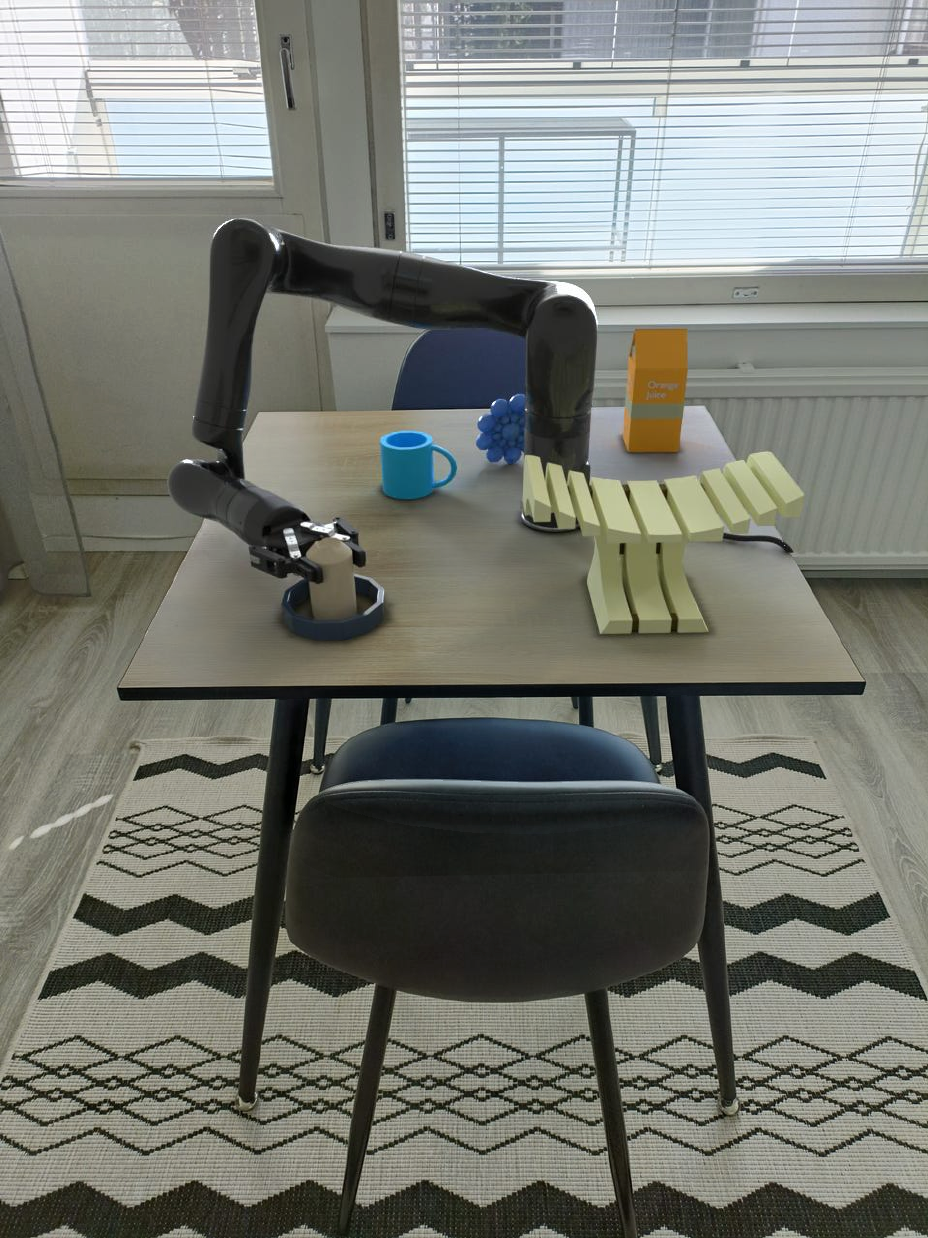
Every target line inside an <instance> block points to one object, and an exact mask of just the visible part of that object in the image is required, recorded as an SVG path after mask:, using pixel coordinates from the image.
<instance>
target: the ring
mask: <svg viewBox="0 0 928 1238" xmlns="http://www.w3.org/2000/svg"><path fill="white" fill-rule="evenodd" d="M354 582H355V594H358V595H360V596H361V595H362V596H364V597H368V598H370V599H371V600H372V601H373V602H374V604H372V605H371V606H370V607H369V608H368V609H366V610H365V611H364V612H362V613H359V614H356V615H355V616H352V617H349V618H345V619H342V620H315V618H311V617H307V616H304V615H301V614H297V613H296V612H295V610H294V608H295V607H296V606H298V605H299V604H301V603H302V602H303V601H305V600H306V599H308V598H311V595H310V586H309V581H307V580H306V579H304V578H302V579H300V580H299V581H297V582H296V583H294V584H293V585H292V586H290V587H288V588H287V589H285V591H284V594H283V597H282V600H281V603H280V604H281V613H282V621H283V623H284V624H285V625H286V626H287V628H288V629H289V630H290V631H291V632H292V633H293V634H294V635H297V636H300V637H303V638H307V639H309V640H313V641H345V640H348V639H352V638H355V637H357V636H358V637H359V636H361V635H364V634H365V635H366V634H367V633H370V632H371V631H372V630H373V629H375V628H376V627H377V626H378V625H380V623H382V622H383V621H384V619H385V612H386V611H385V610H386V600H385V599H386V598H385V597H386V595H385V589H384V588H383V587H382V585H380V584H379V583H378V582H377V581H376V580H375V579H374V578H372V577H370V576H369V577H368V576H365V575H361V574H358V573H354Z"/></svg>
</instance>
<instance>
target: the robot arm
mask: <svg viewBox="0 0 928 1238" xmlns="http://www.w3.org/2000/svg"><path fill="white" fill-rule="evenodd" d="M208 274H209V275H208V277H209V278H208V279H209V280H208V284H209V285H208V313H207V325H206V334H205V336H206V337H205V342H204V343H205V344H204V349H203V350H204V351H203V357H202V364H201V369H200V374H199V381H198V386H197V392H196V396H195V402H194V409H193V414H192V420H191V425H190V433H191V434H190V435H191V437H192V438H193V439H194V440H195V441H196V442H198V443H200V444H202V445H204V446H208V447H210V448H214V451H215V460H206V459H205V460H204V459H193V458H189V459H183V460H180V461H178V462H177V463H175V464H174V465H173V466H172V467H171V469H170V470H169V473H168V475H167V480H166V485H167V492H168V494H169V496H170V498H171V500H172V501H173V503H174V504H175V505H176V506H177V507H178V508H179V509H181V510H183V511H185V512H187V513H189V514H191V515H193V516H197V517H200V518H202V519H206V520H208V521H212V522H216V523H219V524H221V525H222V526H223V527H225V528H226V529H227V530H229V531H231V532H232V533H233V534H235V535H236V536H237V537H238V538H239V539H240V540H241V541H243V542H244V543H246V544H247V545H248V546H249V547H248V554H249V561H250V566H251V567H252V568H254V569H256V570H258V571H261V572H263V573H265V574H268V575H269V576H273V577H275V578H277V579H280V580H282V579H287V578H288V575H290V574H292V575H293V576H295V577H297V576H298V577H301V578H302V579H306V580H307V581H309V582H314V583H316V584H320V583H323V571H322V568H321V566H319V565H318V564H316V563H314V562H313V561H311V560H310V559H308V558H306V553H307V551H308V550H309V549H310V548H311V547H312V546H313V545H314V543H315V542H316V541H321V540H322V539H324V538H333V537H336V538H338V539H339V540H340V541H341V542H343V543H344V544H346V545H347V546H348V547H350V548H351V550H352V557H353V566H355V567H357V568H358V569H361V568H363V567H366V565H367V554H366V552H367V551H366V549H365V548H363V547H361V546H360V543H359V541H360V540H359V531H358V530H357V529H356V528H355V527H354V526H353V525H352V524H350V523H349V522H348V521H347V520H346V519H345V518H344V517H342V516H340V515H336V516H333V518H332V522H331V523H327V524H323V523H322V522H319V521H313V520H311V518H310V517H309V516H308V514H307V513H306V512H305V511H304V510H303V509H302V508H301V507H299V506H298V505H296V504H294V503H292V502H291V501H289V500H286V498H284V497H281V496H280V495H278V494H277V493H274V492H272V491H270V490H267V489H264V488H262V487H260V486H258V485H257V484H255V483H253V482H251V481H249V480H247V479H246V473H245V464H244V443H243V442H244V441H243V439H244V438H243V437H244V436H243V435H244V431H245V426H246V420H247V415H248V409H249V404H250V398H251V391H252V379H253V378H252V377H253V376H252V375H253V372H252V371H253V348H254V347H253V345H254V338H255V331H256V325H257V321H258V317H259V314H260V310H261V307H262V304H263V301H264V299H265V296H266V295H267V294H268V295H269V294H270V295H284V296H293V297H299V298H300V297H301V298H309V299H315V300H319V301H324V302H327V303H330V304H333V305H335V306H338V307H340V308H342V309H345V310H348V311H351V312H353V313H356V314H358V315H362V316H364V317H367V318H370V319H374V320H378V321H380V322H381V321H382V322H385V323H389V324H390V323H391V324H394V325H397V326H399V325H400V326H404V327H409V328H413V329H419V330H420V329H421V330H427V331H429V330H430V331H460V330H486V331H494V332H499V333H503V334H508V335H511V336H514V337H518V338H520V339H525V384H524V395H525V432H524V453H523V460H524V459H525V455H533V456H537V457H540V461H541V465H542V470H543V474H544V478H545V479H546V467H547V463H552V464H556V465H560V466H562V469H563V473H564V477H565V480H566V484H567V482H568V474H569V470H570V471H575V472H580V473H583V474H584V477H585V480H586V483H587V485H590V480H591V464H590V461H589V453H590V437H591V423H592V422H591V421H592V405H593V395H594V390H595V378H596V366H597V365H596V362H597V351H598V331H599V330H598V319H597V315H596V309H595V306H594V303H593V301H592V299H591V297H590V296H589V295H588V294H587V292H585V291H584V290H583V289H582V288H580V287H578V286H576V285H574V284H571V283H568V282H563V281H561V282H560V281H551V280H550V281H549V280H537V279H529V278H528V279H527V278H518V277H510V276H503V275H498V274H495V273H494V274H493V273H490V272H486V271H483V270H480V269H477V268H474V267H469V266H467V265H462V264H459V263H454V262H450V261H446V260H442V259H438V258H436V257H431V256H427V255H422V254H417V253H412V252H408V251H402V250H398V249H392V248H391V249H390V248H384V247H377V246H365V245H364V246H363V245H339V244H331V243H326V242H321V241H318V240H315V239H310V238H307V237H303V236H300V235H297V234H294V233H291V232H288V231H286V230H282V229H279V228H277V227H274V226H272V225H270V224H268V223H265V222H262V221H259V220H256V219H253V218H248V217H235V218H233V219H229V220H228V221H225V222H224V223H222V224H221V225H219V227H218V228H217V229H216V231H215V233H214V234H213V236H212V239H211V241H210V246H209V268H208ZM519 502H520V503H519V505H520V506H519V509H521V510H522V512H521V521H522V523H524V525H526V526H527V527H528V528H531V529H533V530H536V531H540V532H545V533H565V532H571V531H574V530H577V529H579V528H580V525H579V522H578V519H577V517H576V516H575V517H576V522H575V529H558V525H557V521H556V517H555V514H554V513H551V521H550V522H534V521H533V516H532V514H530V515H526V516H525V512H524V506H523V500H520V501H519ZM723 540H728V541H733V542H746V543H749V542H751V543H753V542H765V543H771V544H775V545H777V546H778V547H780V548H781V549H782V550H784V552H786V553H789V554H793V553H794V550H793V548H792V547H791V546H790V545H789V544H788V543H787V542H786V541H784V540H782V539H780V538H778V537H776V536H772V535H765V534H763V535H762V534H756V535H754V534H751V535H749V534H731V533H728V532H724V533H723ZM782 541H783V542H782ZM784 545H785V546H784Z"/></svg>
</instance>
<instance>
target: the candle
mask: <svg viewBox="0 0 928 1238" xmlns="http://www.w3.org/2000/svg"><path fill="white" fill-rule="evenodd" d="M306 558H308V559H310V560H311V561H313V562H314V563H316V564H318V565H319V566H321V568H322V571H323V583H320V584H316V583H314V582H309V586H310V595H311V597H310V604H311V611H312V616H313V619H314V620H342V619H345V618H349V617H352V616H355V615H357V611H358V610H357V596H356V594H357V593H355V582H354V574H355V570H354V564H353V557H352V550H351V548H350V547H348V546H347V545H346V544H344V543H343V542H341V541H340V540H339V539H338V538H336V537H333V538H324V539H322V540H321V541H316V542H315V543H314V545H313V546H312V547H311V548H310V549H309V550H308V551H307V553H306Z"/></svg>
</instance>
